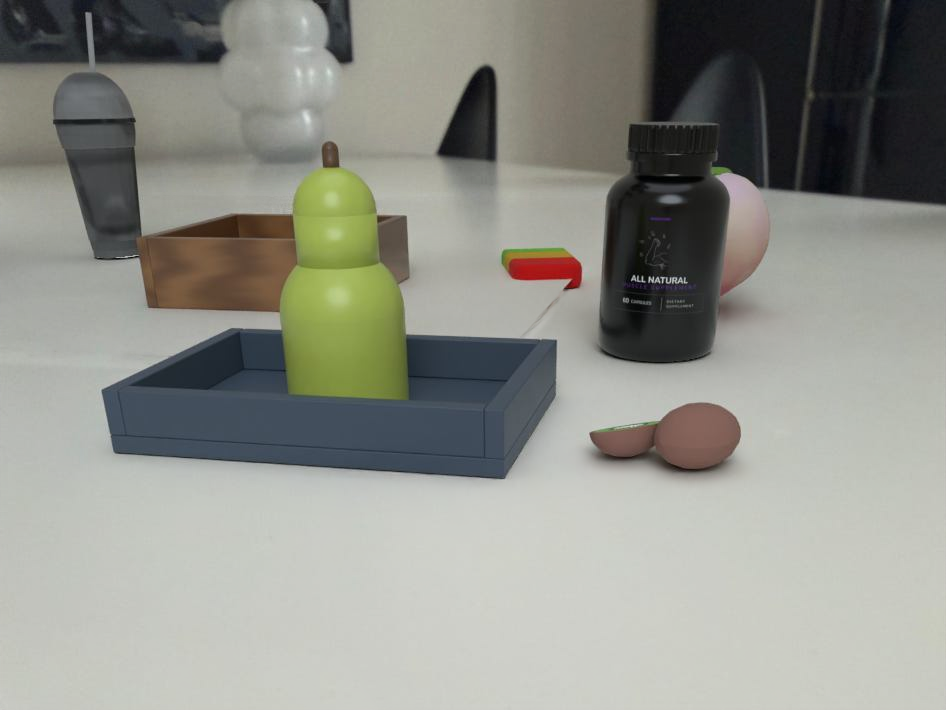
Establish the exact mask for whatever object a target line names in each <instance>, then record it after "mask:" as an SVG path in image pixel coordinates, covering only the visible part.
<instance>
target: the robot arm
mask: <svg viewBox="0 0 946 710" xmlns="http://www.w3.org/2000/svg"><path fill="white" fill-rule="evenodd" d="M312 1H313V3H314V4H323V3H326V4H327V3H330V2H331V0H312Z"/></svg>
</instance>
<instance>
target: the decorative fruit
mask: <svg viewBox="0 0 946 710" xmlns="http://www.w3.org/2000/svg"><path fill="white" fill-rule="evenodd" d="M711 173H712V174H713V175H714V176H715V177H716V178H718V179H719V180H720V181H721V182H722V183H723V184H724V185H725V186H726V188H727V190H728V192H729V196H730V211H729V220H728V228H727V237H726V246H725V254H724V263H723V272H722V281H721V289H720V297H722V296H724V295H726V294H727V293H728V292H730V291H731V290H733V289H735V288H736V287H737V286H739V285H740V284H742V283H744V282H745V281H746V280H748V279H749V278H750V277H751V276H752V274H754V272H755V271H756V270H757V269H758V267H759V266H760V264H761V263H762V260H763V259H764V257H765V255H766V253H767V250H768V247H769V242H770V237H771V216H770V212H769V208H768V205H767V203H766V200H765V198H764V196H763V195H762V193H761V192H760V190H759V189H758V187H757V186H756V185H755V184H754V183H753V182H752V181H750V180H749V179H748V178H746V177H744V176H742V175H739V174H737V173H736V174H735V173H733V171H732V170H731V169H730V168H728V167H722V166H712V169H711Z"/></svg>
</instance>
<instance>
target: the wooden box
mask: <svg viewBox="0 0 946 710" xmlns="http://www.w3.org/2000/svg"><path fill="white" fill-rule="evenodd" d="M377 225H378V242H379V258H380V262H381V263H383V264H384V265H385V267H386V268H387V269H388V270H389V271H390V272H391V274H392V275H393V276H394V278H395V280H396V282H397V283H398V285H400V284H402V283H403V282H405V281H407V280H408V279H411V277H410V253H409V235H408V234H409V233H408V216H407V215H405V214H377ZM136 241H137V247H138V252H139V257H138V258H139V264H140V271H141V275H142V282H143V287H144V293H145V299H146V305H147V308H148V309H165V310H166V309H169V310H195V311H196V310H197V311H198V310H200V311H201V310H202V311H203V310H204V311H205V310H206V311H227V312H229V311H231V312H256V313H257V312H259V313H262V312H263V313H280V298H281V294H282V290H283V287H284V284H285V282H286V280H287V278H288V276H289V274H290V273H291V271H292V270H293V269H294V267H295V266H296V265H297V264H298V263H297V253H296V243H295V232H294V222H293V213H228V214H225V215H224V214H223V215H220V216H217V217H213V218H209V219H205V220H201V221H197V222H193V223H189V224H184V225H181V226H178V227H174V228H173V227H172V228H171V229H165V230H162V231H158V232H154V233H151V234H146V235H142V237H138V238H136Z"/></svg>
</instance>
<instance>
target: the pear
mask: <svg viewBox="0 0 946 710" xmlns="http://www.w3.org/2000/svg"><path fill="white" fill-rule="evenodd" d="M321 162H322V167H319V168H317V169H315V170H313V171H312V172H310V173H309V174H307V175H306V176H305V177H304V179H302V180H301V182H300V183H299V185H298V187H297V188H296V191H295V193H294V196H293V201H292V214H293V222H294V232H295V243H296V253H297V263H298V264H297V265H296V266H295V267H294V269H293V270H292V271H291V273H290V274H289V276H288V278H287V280H286V282H285V284H284V287H283V290H282V294H281V298H280V312H279V319H280V328H281V329H280V330H282V338H283V348H284V357H285V366H286V375H287V384H288V394H297V395H316V396H336V397H356V398H376V399H396V400H409V384H408V364H407V344H406V334H407V328H406V326H407V325H406V308H405V301H404V297H403V293H402V290H401V288H400V284H398V283H397V282H396V280H395V278H394V276H393V275H392V274H391V272H390V271H389V270H388V269H387V268H386V267H385V265H384V264H383V263H381V262H380V258H379V242H378V225H377V215H378V213H377V204H376V201H375V197H374V194H373V193H372V190H371V188H370V187H369V185H368V184H367V183H366V182H365V181H364V179H363V178H362V177H360V176H359V174H357V173H356V172H354V171H352V170H350V169H348V168H345V167H341V166H340V153H339V147H338V145H337V144H336V143H335V142H333V141H331V140H327V141H325V142H324V143H323V144H322V145H321Z"/></svg>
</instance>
